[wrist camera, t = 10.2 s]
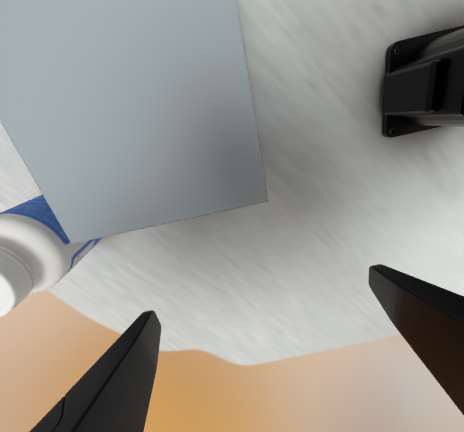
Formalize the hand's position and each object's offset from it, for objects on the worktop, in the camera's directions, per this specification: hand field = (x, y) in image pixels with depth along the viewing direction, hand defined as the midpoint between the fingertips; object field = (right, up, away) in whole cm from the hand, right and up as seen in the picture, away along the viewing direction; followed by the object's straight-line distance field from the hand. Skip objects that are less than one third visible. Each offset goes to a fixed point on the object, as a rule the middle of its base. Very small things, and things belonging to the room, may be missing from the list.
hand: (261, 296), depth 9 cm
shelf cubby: (-6, +12, +8) cm, 16 cm away
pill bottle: (-15, +4, +11) cm, 19 cm away
